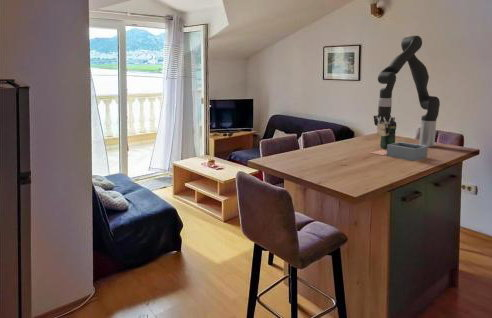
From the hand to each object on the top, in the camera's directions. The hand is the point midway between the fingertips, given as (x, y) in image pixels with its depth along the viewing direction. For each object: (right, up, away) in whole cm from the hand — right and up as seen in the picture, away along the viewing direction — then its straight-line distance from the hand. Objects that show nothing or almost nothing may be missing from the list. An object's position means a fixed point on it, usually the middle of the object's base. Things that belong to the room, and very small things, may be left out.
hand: (383, 132), depth 254 cm
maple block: (0, -1, 0) cm, 1 cm away
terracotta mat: (0, -12, +3) cm, 13 cm away
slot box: (+11, -15, -8) cm, 20 cm away
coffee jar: (+9, -9, +18) cm, 22 cm away
